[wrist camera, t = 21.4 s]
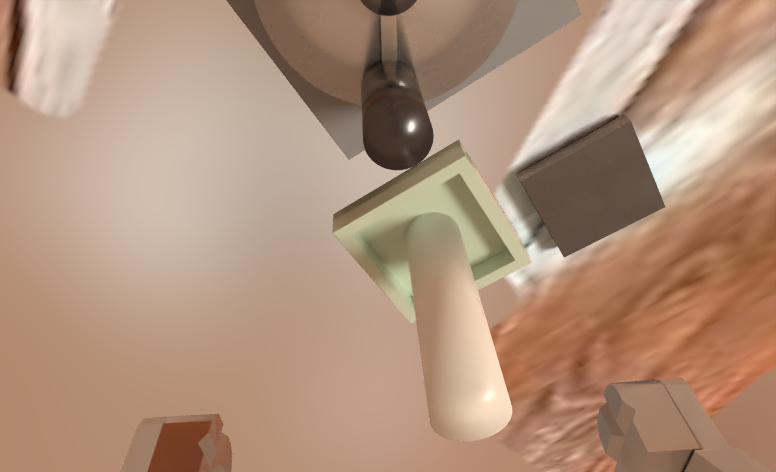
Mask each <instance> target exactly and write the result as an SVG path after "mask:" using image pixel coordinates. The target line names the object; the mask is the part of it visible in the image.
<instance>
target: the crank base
mask: <svg viewBox="0 0 776 472" xmlns="http://www.w3.org/2000/svg"><path fill="white" fill-rule="evenodd" d="M227 2H228V3H229V4H230V5H231V7H232V8H233V9H234V11H235V12H236V13H237V15H238V16H239V17H240V19H241V20H242V21H243V22H244V24H245V25H246V26H247V28H248V29H249V30H250V32H251V33H252V34H253V35H254V37H255V38H256V39H257V40H258V42H259V43H260V45H261V46H262V47H263V48H264V50H265V51H266V52H267V54H268V55H269V56H270V57H271V59H272V60H273V61H274V63H275V64H276V65H277V67H278V68H279V69H280V71H281V72H282V73H283V75H284V76H285V77H286V78H287V80H288V81H289V82H290V84H291V85H292V86H293V88H294V89H295V90H296V91H297V92H298V94H299V95H300V97H301V98H302V99H303V101H304V102H305V103H306V104H307V105H308V107H309V108H310V110H311V111H312V112H313V113H314V115H315V116H316V117H317V119H318V120H319V121H320V123H321V124H322V125H323V126H324V128H325V129H326V130H327V132H328V133H329V134H330V136H331V137H332V138H333V140H334V141H335V142H336V144H337V145H338V146H339V147H340V149H341V150H342V151H343V153H344V154H345V155H346V157H347V158H348V159H351V158H353V157H354V156H355V155H357V154H359V153H360V152H362V151H364V150H365V148H364V144H363V129H362V105H357V104H354V103H350V102H347V101H343V100H341V99H339V98H336V97H334V96H331V95H329V94H327V93H326V92H324V91H322V90H320V89H319V88H317V87H315V86H314V85H312V84H311V83H310V82H308V81H307V80H306V79H305V78H303V77H302V76H301V75H300V74H299V73H298V72H297V71H296V70H294V69H293V68H292V67H291V66H290V65H289V64H288V62H287V61H286V60H285V59H284V57H283V56H282V55H281V54H280V52H279V51H278V50H277V48H276V47H275V45H274V44H273V42H272V40H271V39H270V37H269V36H268V34H267V32H266V30H265V28H264V26H263V23H262V21H261V19H260V17H259V14H258V11H257V8H256V5H255V2H254V0H227ZM580 15H581V12H580V10H579V8H578V5H577V3H576V0H518V2H517V5H516V9H515V11H514V14H513V16H512V19H511V21H510V23H509V26H508V28H507V29H506V31H505V33H504V35H503V37H502V38H501V40H500V42H499V43H498V45H497V46H496V48H495V49H494V50H493V52H492V53H491V55H490V56H489V57H488V58H487V59H486V60H485V62H484V63H483V64H482V65H481V66H480V67H479V68H478V69H477V70H476V71H475V72H474V73H473V74H471V75H470V76H469V77H468V78H467V79H466V80H464V81H463V82H462V83H460V84H459V85H457V86H456V87H454V88H453V89H451V90H449V91H447V92H445V93H443V94H441V95H440V96H438V97H435V98H433V99H430V100H427V101H424V103H425V106H426V109H427V111H428V110H430V109H431V108H433V107H434V106H436V105H438V104H439V103H441V102H442V101H444V100H446V99H447V98H449V97H450V96H452V95H454V94H455V93H457V92H458V91H460V90H462V89H463V88H465V87H466V86H468V85H469V84H471V83H473V82H474V81H476V80H477V79H479V78H481V77H482V76H484V75H486V74H487V73H489V72H490V71H492V70H494V69H495V68H497V67H499V66H500V65H502V64H503V63H505V62H506V61H508V60H510V59H511V58H513V57H515V56H516V55H518V54H519V53H521V52H522V51H524V50H526V49H527V48H529V47H531V46H532V45H534V44H535V43H537V42H539V41H540V40H542V39H543V38H545V37H547V36H548V35H550V34H552V33H553V32H555V31H556V30H558V29H560V28H561V27H563V26H564V25H566V24H568V23H569V22H571V21H572V20H574V19H576V18H577V17H579V16H580Z"/></svg>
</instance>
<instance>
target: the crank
mask: <svg viewBox="0 0 776 472" xmlns="http://www.w3.org/2000/svg"><path fill="white" fill-rule="evenodd" d="M254 2H255V5H256V8H257V11H258V14H259V17H260V19H261V21H262V23H263V26H264V28H265V30H266V32H267V34H268V36H269V37H270V39H271V40H272V42H273V44H274V45H275V47H276V48H277V50H278V51H279V52H280V54H281V55H282V56H283V57H284V59H285V60H286V61H287V62H288V64H289V65H290V66H291V67H292V68H293V69H294V70H296V71H297V72H298V73H299V74H300V75H301V76H302V77H303V78H305V79H306V80H307V81H308V82H310V83H311V84H312V85H314V86H315V87H317V88H319V89H320V90H322V91H324V92H326V93H327V94H329V95H331V96H334V97H336V98H339V99H341V100H343V101H347V102H350V103H354V104H357V105H362V129H363V144H364V148H365V151H366V153H367V154H368V156H369V157H370V158H371V160H372V161H374V162H375V163H376V164H378V165H379V166H381V167H384V168H386V169H391V170H403V169H408V168H411V167H413V166H415V165H417V164H418V163H420V162H421V161H422V160H423V159H424V158H425V157H426V156H427V154H428V153H429V151H430V149H431V147H432V143H433V129H432V125H431V122H430V119H429V116H428V113H427V109H426V106H425V103H424V101H427V100H430V99H433V98H435V97H438V96H440V95H441V94H443V93H445V92H447V91H449V90H451V89H453V88H454V87H456V86H457V85H459V84H460V83H462V82H463V81H464V80H466V79H467V78H468V77H469V76H470V75H471V74H473V73H474V72H475V71H476V70H477V69H478V68H479V67H480V66H481V65H482V64H483V63H484V62H485V60H486V59H487V58H488V57H489V56H490V55H491V53H492V52H493V50H494V49H495V48H496V46H497V45H498V43H499V42H500V40H501V38H502V37H503V35H504V33H505V31H506V29H507V28H508V26H509V23H510V21H511V19H512V16H513V14H514V11H515V9H516V5H517V2H518V0H254Z"/></svg>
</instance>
